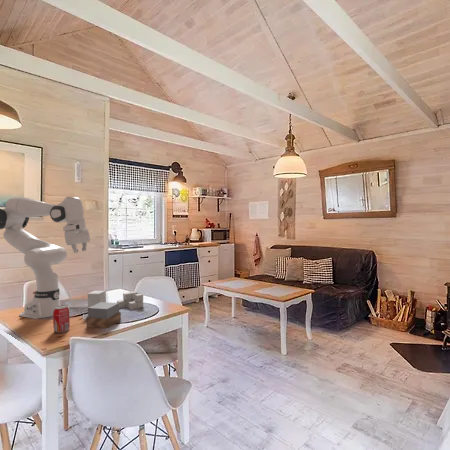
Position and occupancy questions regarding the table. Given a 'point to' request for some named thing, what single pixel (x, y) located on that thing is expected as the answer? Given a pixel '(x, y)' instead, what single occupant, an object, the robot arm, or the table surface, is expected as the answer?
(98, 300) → the supplement box
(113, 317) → the tower bottom
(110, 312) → the tower top
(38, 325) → the table surface
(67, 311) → the soda can
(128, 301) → the puzzle cube
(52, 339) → the table surface
